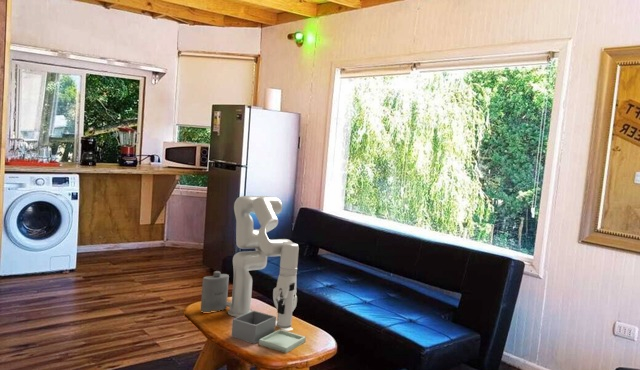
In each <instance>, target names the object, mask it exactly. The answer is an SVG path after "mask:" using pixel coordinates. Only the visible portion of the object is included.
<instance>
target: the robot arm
mask: <svg viewBox="0 0 640 370" xmlns="http://www.w3.org/2000/svg"><path fill="white" fill-rule="evenodd" d="M233 210H234V215H235V220H236V221H235V222H236V223H235V224H236V226H235V227H236V228H235V234H236V235H235V238H236V239H235V242H236V243H235V244H236V246H237V248H239V249H243V250H245V251H239V252H237V253H235V254H234V255H233V257H232V266H233V267H232V268H233V281H232V293H231V295H232V297H231V301H228V300H227V304H226V306H227V307H228V310H227V313H228V315H229V316H232V317H235V318H237V317H239V316H241V315H244V314H246V313H249V312H251V311H254V309H251V306H252V304H251V303H252V291H253V276H252V275H251V274H250V272H249V271H257V270H263V269H266V267H267V264H268V258H269V257H270V258H272V257H280V262H279V275H278V277H277V281H276V287H275V288H276V298H275V299H276V300H277V304H278V311H277V312H276V313H277V314H278V313H280V314H284V310H285V305H284V303H285V299H286V298H287V297H288V293H289V286H290V285H293V284H294V283H295V286H294V297H295V294H296V295H297V291H298V290H297V280H298V279H297V275H298V273H297V272H298V263H299V250H300V248H299V244H298V243H295V242H293V241H292V240H290V239H287V238H277V239H274V238H272V239H269V237H268V233H269V232H270V231H272V230H273V229H275V228H276V227H277V226H278V224H279V219H278V217H277V215H279V214H280V213H281V212H282V211H283V203H282V201H281V199H279V198H278V196H267V195H266V196H265V195H243V196H239V197H237V198H236V200H235V201H234V203H233ZM251 214H255V217H256V219H257V221H258V224H259V225H260V226H259V229H255V228H254V219H253V217H252V215H251ZM248 249H254V250H253V251H252V250H249V251H248ZM246 250H247V251H246ZM281 296H283V297H281ZM281 299H283V301H282V300H281ZM293 302H294V299H293Z"/></svg>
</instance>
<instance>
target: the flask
mask: <svg viewBox="0 0 640 370" xmlns="http://www.w3.org/2000/svg"><path fill="white" fill-rule="evenodd" d="M229 275H230V274H227V273H221V271H219V270H216V271H213V275H212V276H211V275H209V276H204V277H202V284H201V285H202V286H201V300H200V312H201V311H203V312H211V311H219V310H222V311H225V310H226V309H227V307H228V306H226V304H227V302H228V294H229V293H228V292H229V282H230V280H229V278H230V276H229ZM224 309H225V310H224ZM219 312H220V311H219Z"/></svg>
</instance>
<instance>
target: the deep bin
mask: <svg viewBox="0 0 640 370" xmlns="http://www.w3.org/2000/svg"><path fill="white" fill-rule="evenodd" d="M276 321H277V316H275V315H271V314H268V313H264V312H261V311H257V310H253V311H251V312H249V313H246V314H244V315H241V316H239V317H235V318H232V325H231V337H232V338H234V339H238V340H241V341H244V342H247V343H251V344H254V345H255V344H257V343H259V339H261V338H263V337H265V336H267V335H269V334H271V333H273V332H275V331H276V325H275V323H276Z"/></svg>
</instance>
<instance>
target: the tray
mask: <svg viewBox="0 0 640 370" xmlns="http://www.w3.org/2000/svg"><path fill="white" fill-rule="evenodd" d="M306 339H307V337H306V336H304V335H301V334H297V333H295V332H291V331H285V330H283V329H281V328H280V329H277V330H275V332H273V333H271V334H269V335H267V336H265V337H263V338H261V339H259V342H258V345H259V346H262V347H266V348H268V349H272V350H275V351H279V352H281V353H284V354H287V353H289V352H291V351H292V350H294V349H296V348H297V347H299V346H301V345H303V344H304V343H306Z"/></svg>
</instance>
